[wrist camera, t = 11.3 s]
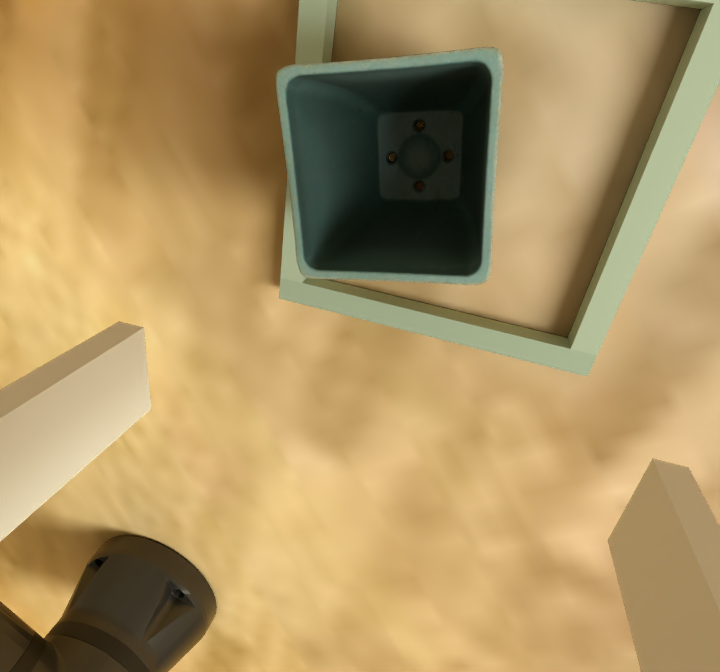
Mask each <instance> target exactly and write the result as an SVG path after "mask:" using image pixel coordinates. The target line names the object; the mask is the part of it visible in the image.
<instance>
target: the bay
mask: <svg viewBox="0 0 720 672" xmlns="http://www.w3.org/2000/svg"><path fill="white" fill-rule="evenodd" d="M633 1H641V2H649V3H657V4H665V5H673V6H681V7H689V8H697V9H701V11H700V13H699V16H698V18H697V21H696V23H695V26H694V28H693V31H692V33H691V35H690V38H689V40H688V43H687V45H686V48H685V50H684V53H683V55H682V58H681V60H680V63H679V65H678V67H677V70H676V72H675V75H674V77H673V80H672V82H671V85H670V87H669V90H668V92H667V95H666V97H665V100H664V102H663V104H662V107H661V109H660V112H659V114H658V117H657V119H656V122H655V124H654V127H653V129H652V132H651V134H650V136H649V139H648V141H647V144H646V146H645V149H644V151H643V154H642V156H641V159H640V161H639V164H638V166H637V169H636V171H635V173H634V176H633V178H632V181H631V183H630V186H629V188H628V191H627V193H626V196H625V198H624V201H623V203H622V205H621V208H620V210H619V213H618V215H617V218H616V220H615V223H614V225H613V228H612V230H611V233H610V235H609V238H608V240H607V242H606V245H605V247H604V250H603V252H602V255H601V257H600V260H599V262H598V265H597V267H596V270H595V272H594V274H593V277H592V279H591V282H590V284H589V287H588V289H587V292H586V294H585V297H584V299H583V302H582V304H581V306H580V309H579V311H578V314H577V316H576V319H575V321H574V324H573V326H572V329H571V331H570V334H569V336H568V338H566V337H562V336H558V335H553V334H549V333H545V332H541V331H537V330H533V329H529V328H525V327H520V326H516V325H512V324H508V323H504V322H500V321H496V320H492V319H487V318H483V317H479V316H475V315H471V314H467V313H463V312H459V311H454V310H450V309H446V308H442V307H438V306H434V305H430V304H426V303H421V302H417V301H413V300H409V299H405V298H401V297H397V296H393V295H389V294H384V293H380V292H376V291H372V290H368V289H364V288H360V287H356V286H351V285H347V284H343V283H339V282H335V281H331V280H327V279H312V278H306V277H304V276H303V275H302V274H301V273H300V271H299V267H298V264H297V260H296V250H295V237H294V228H293V220H292V210H291V201H290V192H289V185H288V178H287V188H286V203H285V218H284V232H283V247H282V262H281V277H280V291H279V298H280V299H284V300H288V301H292V302H295V303H299V304H303V305H307V306H311V307H315V308H319V309H323V310H327V311H331V312H335V313H339V314H343V315H347V316H351V317H355V318H358V319H362V320H366V321H370V322H374V323H378V324H382V325H386V326H390V327H394V328H398V329H402V330H406V331H410V332H414V333H418V334H421V335H425V336H429V337H433V338H437V339H441V340H445V341H449V342H453V343H457V344H461V345H465V346H469V347H473V348H477V349H480V350H484V351H488V352H492V353H496V354H500V355H504V356H508V357H512V358H516V359H520V360H524V361H528V362H532V363H536V364H540V365H543V366H547V367H551V368H555V369H559V370H563V371H567V372H571V373H575V374H579V375H583V376H587V377H588V374H589V372H590V370H591V368H592V365H593V363H594V361H595V359H596V357H597V354H598V352H599V350H600V348H601V345H602V343H603V341H604V339H605V337H606V334H607V332H608V330H609V328H610V325H611V323H612V321H613V319H614V316H615V314H616V312H617V310H618V308H619V305H620V303H621V301H622V299H623V296H624V294H625V292H626V290H627V288H628V285H629V283H630V281H631V279H632V276H633V274H634V272H635V270H636V267H637V265H638V263H639V261H640V259H641V256H642V254H643V252H644V250H645V247H646V245H647V243H648V241H649V239H650V236H651V234H652V232H653V230H654V227H655V225H656V223H657V221H658V218H659V216H660V214H661V212H662V210H663V207H664V205H665V203H666V201H667V198H668V196H669V194H670V192H671V190H672V187H673V185H674V183H675V181H676V178H677V176H678V174H679V172H680V169H681V167H682V165H683V163H684V161H685V158H686V156H687V154H688V152H689V149H690V147H691V145H692V143H693V140H694V138H695V136H696V134H697V132H698V129H699V127H700V125H701V123H702V120H703V118H704V116H705V114H706V112H707V109H708V107H709V105H710V103H711V100H712V98H713V96H714V94H715V91H716V89H717V87H718V85H719V83H720V0H633ZM336 9H337V0H299V11H298V26H297V41H296V56H295V64H310V63H329V62H331V59H332V49H333V39H334V29H335V19H336Z"/></svg>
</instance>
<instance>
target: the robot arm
mask: <svg viewBox="0 0 720 672" xmlns="http://www.w3.org/2000/svg"><path fill="white" fill-rule="evenodd" d="M149 410H151V401H150V390H149V379H148V368H147V357H146V346H145V335H144V328H143V327H139V326H135V325H131V324H127V323H123V322H120V321H119V322H117V323H116V324H114V325H112V326H110V327H109V328H107V329H105V330H104V331H102V332H100V333H98V334H97V335H95V336H93V337H91V338H90V339H88V340H86V341H84V342H83V343H81V344H79V345H77V346H76V347H74V348H72V349H70V350H69V351H67V352H65V353H63V354H62V355H60V356H58V357H56V358H55V359H53V360H51V361H50V362H48V363H46V364H44V365H43V366H41V367H39V368H37V369H36V370H34V371H32V372H30V373H29V374H27V375H25V376H23V377H22V378H20V379H18V380H16V381H15V382H13V383H11V384H9V385H8V386H6V387H4V388H2V389H1V390H0V542H1V541H2V540H3V539H4V538H5V537H6V536H7V535H8V534H10V533H11V532H12V531H13V530H14V529H15V528H16V527H18V526H19V525H20V524H21V523H22V522H23V521H24V520H26V519H27V518H28V517H29V516H30V515H31V514H32V513H33V512H35V511H36V510H37V509H38V508H39V507H40V506H41V505H43V504H44V503H45V502H46V501H47V500H48V499H49V498H51V497H52V496H53V495H54V494H55V493H56V492H57V491H58V490H60V489H61V488H62V487H63V486H64V485H65V484H66V483H68V482H69V481H70V480H71V479H72V478H73V477H74V476H76V475H77V474H78V473H79V472H80V471H81V470H82V469H83V468H85V467H86V466H87V465H88V464H89V463H90V462H91V461H93V460H94V459H95V458H96V457H97V456H98V455H99V454H101V453H102V452H103V451H104V450H105V449H106V448H107V447H108V446H110V445H111V444H112V443H113V442H114V441H115V440H116V439H118V438H119V437H120V436H121V435H122V434H123V433H124V432H126V431H127V430H128V429H129V428H130V427H131V426H132V425H133V424H135V423H136V422H137V421H138V420H139V419H140V418H141V417H143V416H144V415H145V414H146V413H147V412H148V411H149ZM608 543H609V547H610V551H611V555H612V559H613V563H614V567H615V571H616V575H617V579H618V583H619V587H620V591H621V595H622V598H623V602H624V606H625V610H626V614H627V618H628V622H629V626H630V630H631V634H632V638H633V642H634V646H635V650H636V654H637V657H638V661H639V665H640V669H641V672H720V526H719V524H718V522H717V520H716V518H715V516H714V515H713V513H712V511H711V509H710V507H709V505H708V503H707V501H706V499H705V498H704V496H703V494H702V492H701V490H700V488H699V486H698V484H697V482H696V480H695V479H694V477H693V475H692V473H691V471H690V469H689V468H688V467H684V466H680V465H676V464H672V463H668V462H664V461H660V460H657V459H652V461H651V463H650V464H649V466H648V468H647V470H646V472H645V474H644V475H643V477H642V479H641V481H640V483H639V484H638V486H637V488H636V490H635V492H634V494H633V495H632V497H631V499H630V501H629V503H628V504H627V506H626V508H625V510H624V512H623V513H622V515H621V517H620V519H619V521H618V523H617V524H616V526H615V528H614V530H613V532H612V533H611V535H610V537H609V539H608ZM215 614H216V600H215V597H214V594H213V592H212V590H211V588H210V586H209V584H208V583H207V581H206V580H205V579H204V577H203V576H202V575H201V574H200V573H199V572H198V570H197V569H196V568H195V567H194V566H192V565H191V564H190V563H189V562H188V561H187V560H185V559H184V558H183V557H181V556H180V555H178V554H177V553H176V552H174V551H172V550H171V549H169V548H167V547H165V546H163V545H161V544H159V543H156V542H154V541H151V540H148V539H145V538H140V537H135V536H118V537H114V538H112V539H109V540H108V541H106V542H105V543H104V544H103V545H102V547H101V548H100V549H99V550H98V551H97V552H96V553H95V554H94V555H93V557H92V558H91V559H90V561H89V562H88V564H87V566H86V568H85V570H84V572H83V574H82V576H81V578H80V580H79V582H78V584H77V586H76V588H75V590H74V593H73V595H72V597H71V599H70V601H69V603H68V605H67V607H66V609H65V611H64V613H63V615H62V617H61V618H60V620H59V621H58V622H57V623H56V625H55V626H54V627H53V628H52V629H51V631H50V632H49V633H48V634H47V635H46V637H45V638H42V637H41V636H40V635H39V634H38V633H37V632H35V631H34V630H33V629H32V628H31V627H30V626H29V625H28V624H26V623H25V622H24V621H23V620H22V619H20V618H19V617H18V616H17V615H16V614H15V613H13V612H12V611H11V610H10V609H9V608H7V607H6V606H5V605H4V604H3V603H2V602H0V672H168V671H169V670H170V669H171V668H172V667H173V666H174V665H175V664H176V663H177V662H178V661H179V660H180V659H181V658H182V657H183V656H184V655H185V654H186V653H187V652H189V651H190V650H191V649H192V648H193V647H194V646H195V645H196V644H197V643H198V642H199V641H200V640H201V638H202V637H203V636H204V634H205V633H206V631H207V629H208V628H209V626H210V624H211V622H212V620H213V619H214V617H215Z"/></svg>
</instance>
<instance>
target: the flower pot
mask: <svg viewBox="0 0 720 672" xmlns="http://www.w3.org/2000/svg"><path fill="white" fill-rule="evenodd" d="M503 71H504V61H503V56H502V53H501V52H500V51H499V50H498V49H497V48H494V47H481V48H471V49H464V50H454V51H446V52H436V53H428V54H420V55H410V56H400V57H389V58H375V59H364V60H354V61H341V62H329V63H310V64H293V65H288V66H284V67H283V68H281V69H279V70H278V71H277V74H276V77H275V84H276V93H277V102H278V107H279V115H280V123H281V131H282V139H283V144H284V154H285V159H286V170H287V178H288V185H289V192H290V201H291V210H292V220H293V228H294V237H295V250H296V260H297V264H298V267H299V271H300V273H301V274H302V275H303V276H304V277H306V278H312V279H341V280H369V281H397V282H419V283H442V284H461V285H477V284H482V283H484V282H486V281H487V279H488V277H489V275H490V271H491V254H492V234H493V213H494V194H495V178H496V163H497V150H498V137H499V122H500V109H501V95H502V83H503ZM420 120H421V121H423V122H424V128H423V130H421V131H419V130H417V129H416V128H415V123H416V122H417V121H420ZM448 150H450V151H452V152H453V154H454V156H453V158H452V159H451V160H450V161H448V160H446V159H445V158H444V153H445V152H446V151H448ZM392 152H393V153H395V155H396V160H395V161H394V162H391V161H389V160H388V154H389V153H392ZM418 181H422V182H423V183H424V188H423V189H422V190H418V189H417V188H416V183H417V182H418Z"/></svg>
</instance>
